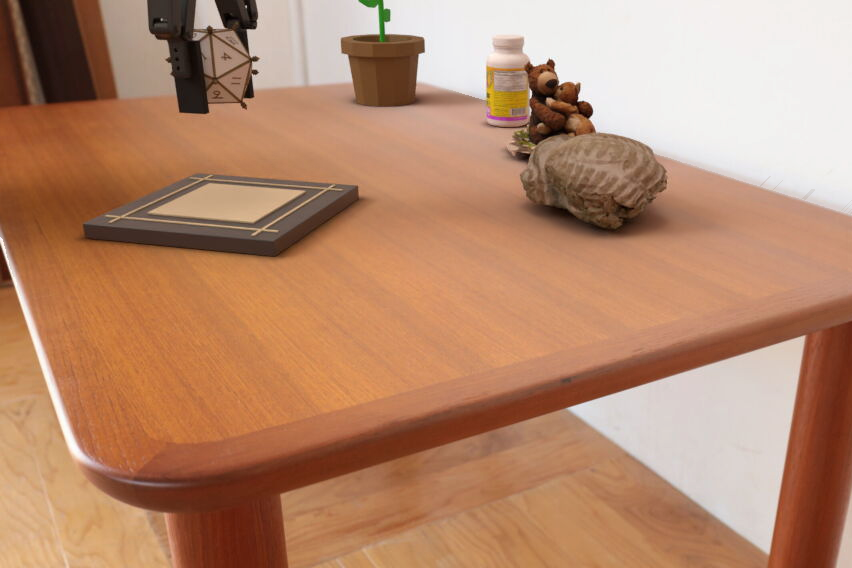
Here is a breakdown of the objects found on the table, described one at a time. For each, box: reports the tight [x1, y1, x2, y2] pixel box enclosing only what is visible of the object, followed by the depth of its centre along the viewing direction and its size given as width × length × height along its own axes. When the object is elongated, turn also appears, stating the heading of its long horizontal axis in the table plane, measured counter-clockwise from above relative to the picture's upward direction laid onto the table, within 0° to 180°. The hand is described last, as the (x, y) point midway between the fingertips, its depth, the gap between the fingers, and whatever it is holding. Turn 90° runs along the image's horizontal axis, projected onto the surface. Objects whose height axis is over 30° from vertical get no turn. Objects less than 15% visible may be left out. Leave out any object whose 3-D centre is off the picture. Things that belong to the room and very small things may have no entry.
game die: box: [164, 22, 260, 111], centre depth 87 cm, size 9×8×10 cm
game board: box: [82, 172, 360, 257], centre depth 93 cm, size 20×20×2 cm
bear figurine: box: [505, 57, 597, 157], centre depth 116 cm, size 14×15×12 cm
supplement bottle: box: [485, 34, 531, 128], centre depth 135 cm, size 7×7×13 cm
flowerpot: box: [340, 0, 426, 107], centre depth 148 cm, size 14×14×30 cm
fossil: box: [519, 132, 669, 231], centre depth 94 cm, size 18×13×10 cm
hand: (218, 104), depth 88 cm, fingers closed on game die, 8 cm apart
